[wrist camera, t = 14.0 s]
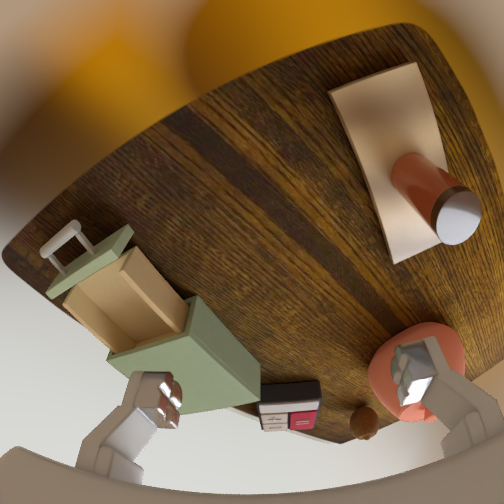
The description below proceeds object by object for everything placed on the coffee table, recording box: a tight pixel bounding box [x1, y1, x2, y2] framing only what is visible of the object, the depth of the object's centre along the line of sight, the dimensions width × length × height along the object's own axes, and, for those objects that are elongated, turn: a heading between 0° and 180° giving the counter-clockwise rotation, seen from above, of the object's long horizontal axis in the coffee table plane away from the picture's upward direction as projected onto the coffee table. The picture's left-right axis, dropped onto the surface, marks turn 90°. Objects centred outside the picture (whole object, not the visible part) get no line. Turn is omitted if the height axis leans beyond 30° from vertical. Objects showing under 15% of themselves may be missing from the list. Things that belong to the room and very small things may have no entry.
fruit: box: [350, 407, 379, 440], centre depth 52 cm, size 6×6×8 cm
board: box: [327, 62, 448, 264], centre depth 26 cm, size 20×9×2 cm, turn 29°
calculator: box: [256, 381, 322, 432], centre depth 50 cm, size 11×4×15 cm
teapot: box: [368, 322, 465, 422], centre depth 38 cm, size 25×17×13 cm
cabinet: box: [106, 295, 260, 415], centre depth 40 cm, size 17×15×7 cm
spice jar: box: [391, 152, 482, 245], centre depth 22 cm, size 5×5×9 cm
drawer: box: [40, 220, 190, 354], centre depth 32 cm, size 20×13×5 cm
